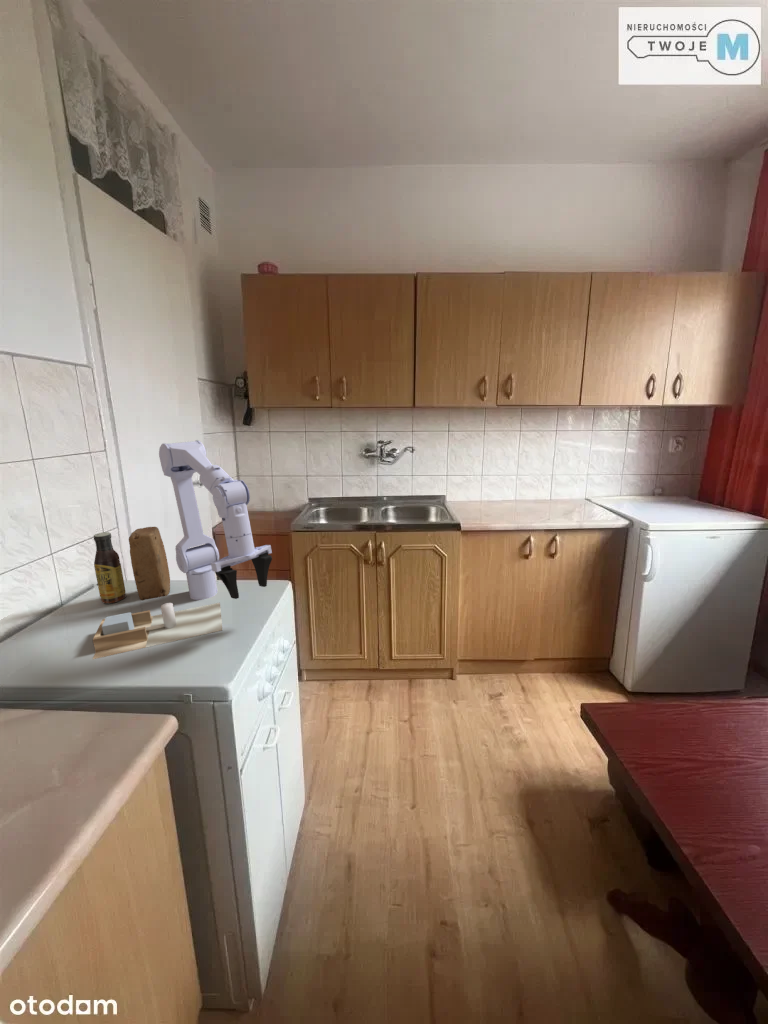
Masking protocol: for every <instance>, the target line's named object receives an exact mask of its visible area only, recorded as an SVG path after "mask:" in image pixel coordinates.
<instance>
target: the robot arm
mask: <svg viewBox="0 0 768 1024" xmlns="http://www.w3.org/2000/svg"><path fill="white" fill-rule="evenodd" d="M158 450H159V451H158V456H159V457H158V458H159V461H160V467H161V470H162V473H163V475H164V476H165V477H169V478H170V480H171V483H172V487H173V491H174V495H175V500H176V505H177V509H178V514H179V518H180V523H181V528H182V533H183V537H182V539H180V541H179V542H178V543H177V544H176V545H175V549H174V550H175V561H176V564H177V567H178V569H179V570H180V572H181V573H183V574H185V576H186V581H187V587H188V593H189V597H190V599H191V600H194V601H202V600H206V599H210V598H213V597H214V596H216V595H217V594H218V586H217V585H218V584H217V580H216V576H217V577H218V578H219V579H220V580H221V582H222V583H223V585H224V587H225V588H226V589H227V591H228V593H229V596H230V598H231V599H233V600H235V599H236V600H237V599H239V598H240V595H239V594H240V592H239V589H238V583H237V580H238V579H237V573H238V570H237V569H233V566H236V565H239V564H242V563H245V562H247V561H250V560H251V562H252V564H253V567H254V570H255V573H256V579H257V582H258V586H259V587H262V588H267V586H268V577H269V576H268V575H269V568H270V566H271V563H272V560H273V556H272V555H271V554H273V552H272V546H271V544H265V545H261V546H256V547H255V543H254V539H253V538H254V537H253V533H252V527H251V522H250V517H249V512H248V506H247V505H249V504H250V500H251V495H250V490H249V487H248V485H247V484H246V483H245V481H244V479H233V477H231V476H230V475H229V473H227V471H225V470H224V469H223V467H221V466H220V465H219V464H212V462H211V461H210V459H209V458H208V457H207V450H206V447H205V445H204V443H203V442H202V441H201V440H198V439H196V440H194V441H193V440H191V441H182V442H181V441H180V442H171V443H165V442H163V443H161V445H160V446H159V449H158ZM195 473H197V474H199V475H200V476H199V480H200V484H202V486H203V487H205V488H206V489H207V491H208V492H209V493H210V494H211V495H212V500H213V501H212V502H213V504H214V506H215V508H216V510H217V515H218V516H219V518H220V519H221V522H222V526H223V532H224V536H225V541H226V547H227V553H228V555H227V556H224V557H222V558H220V552H219V549H218V547H217V545H216V542H215V539H214V538H213V537H211V536H210V535H207V534H205V533H204V530H203V526H202V520H201V516H200V511H199V507H198V502H197V497H196V492H195V488H194V483H193V476H194V474H195Z"/></svg>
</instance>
